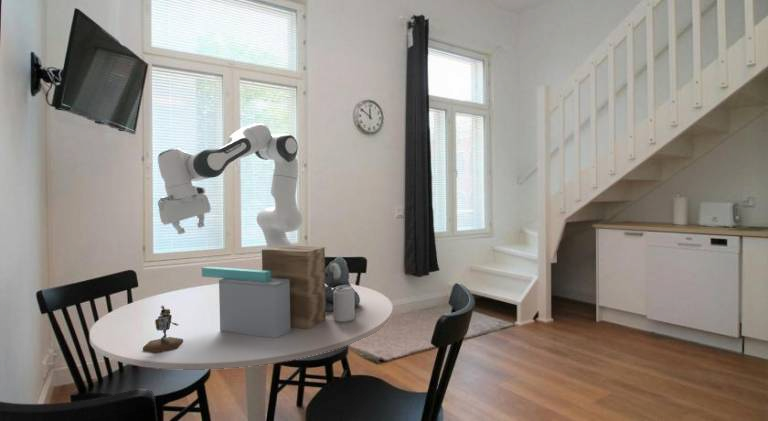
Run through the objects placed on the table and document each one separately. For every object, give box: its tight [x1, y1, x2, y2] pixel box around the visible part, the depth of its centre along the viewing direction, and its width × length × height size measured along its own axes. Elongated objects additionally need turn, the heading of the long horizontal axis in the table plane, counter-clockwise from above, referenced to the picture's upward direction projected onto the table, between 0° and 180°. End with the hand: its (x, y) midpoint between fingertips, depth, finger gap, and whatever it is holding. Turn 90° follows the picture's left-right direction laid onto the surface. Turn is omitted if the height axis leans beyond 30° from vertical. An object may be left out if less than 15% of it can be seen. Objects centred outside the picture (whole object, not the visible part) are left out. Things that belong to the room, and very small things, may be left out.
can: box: [333, 285, 356, 323], centre depth 148 cm, size 8×8×12 cm
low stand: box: [218, 278, 291, 339], centre depth 137 cm, size 8×22×17 cm, turn 70°
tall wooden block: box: [261, 245, 326, 330], centre depth 147 cm, size 12×18×26 cm, turn 70°
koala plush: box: [325, 256, 361, 312], centre depth 165 cm, size 17×18×20 cm
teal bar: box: [201, 266, 271, 282], centre depth 139 cm, size 3×26×3 cm, turn 70°
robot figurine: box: [142, 305, 184, 354], centre depth 124 cm, size 11×9×12 cm
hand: (192, 230), depth 151 cm, fingers open, 8 cm apart
